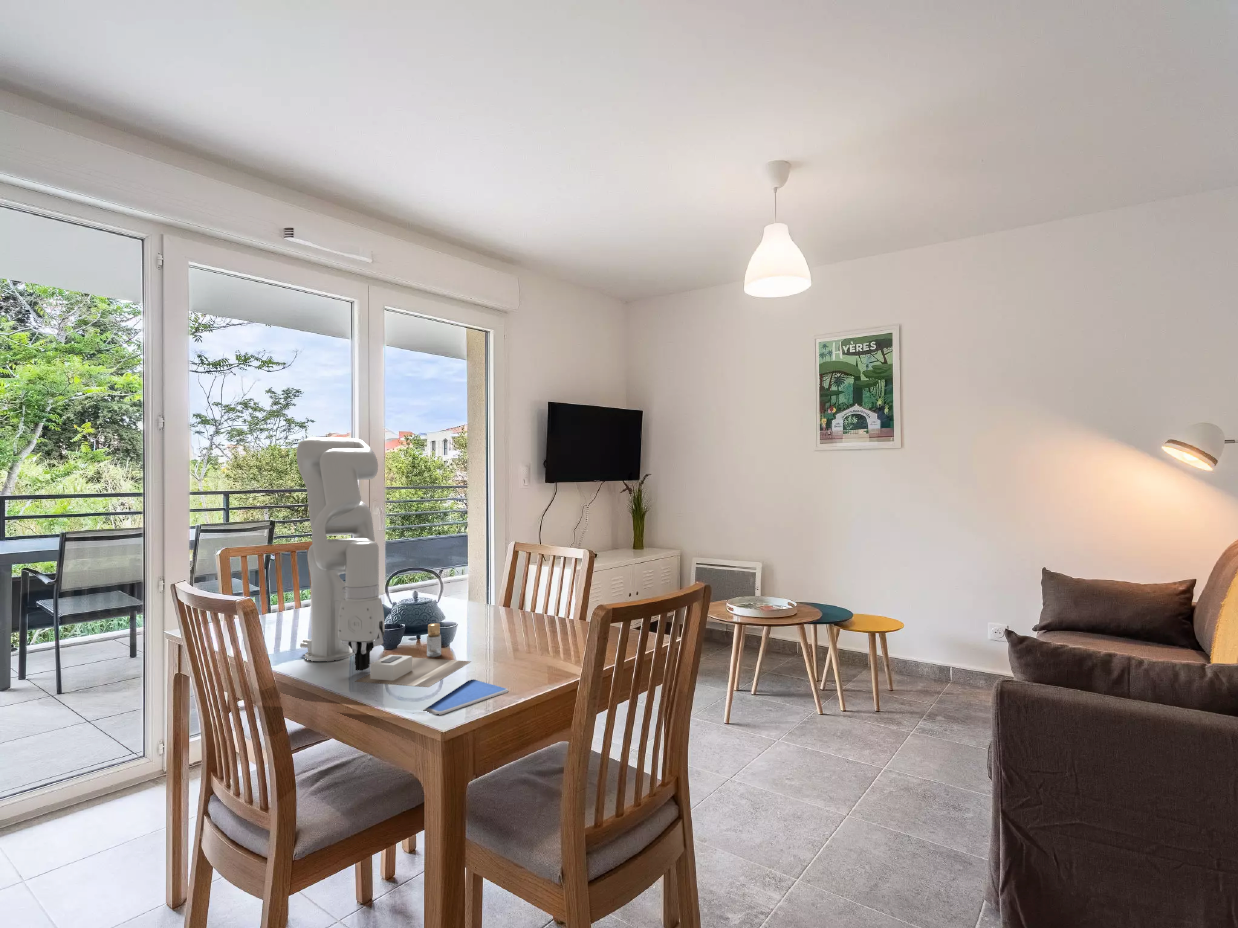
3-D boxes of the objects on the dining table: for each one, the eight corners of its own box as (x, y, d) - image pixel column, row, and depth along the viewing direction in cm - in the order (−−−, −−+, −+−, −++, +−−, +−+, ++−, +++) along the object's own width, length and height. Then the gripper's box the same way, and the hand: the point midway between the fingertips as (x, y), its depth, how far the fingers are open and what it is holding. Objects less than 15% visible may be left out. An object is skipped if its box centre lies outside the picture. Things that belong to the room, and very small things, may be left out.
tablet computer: (473, 683, 157) (473, 677, 157) (510, 693, 149) (510, 687, 149) (402, 706, 142) (402, 699, 142) (439, 718, 134) (439, 712, 134)
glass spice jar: (424, 662, 173) (424, 625, 174) (431, 658, 177) (431, 622, 177) (436, 662, 172) (436, 626, 173) (443, 659, 176) (443, 623, 176)
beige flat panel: (354, 687, 152) (354, 681, 152) (404, 662, 173) (404, 656, 173) (428, 693, 148) (428, 686, 148) (471, 667, 168) (471, 661, 168)
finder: (370, 678, 154) (370, 662, 154) (390, 668, 162) (390, 653, 162) (393, 680, 153) (393, 664, 153) (412, 670, 161) (412, 655, 161)
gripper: (325, 594, 158) (325, 671, 157) (380, 596, 154) (380, 675, 154) (345, 589, 165) (345, 662, 165) (398, 590, 162) (398, 666, 161)
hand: (362, 668), depth 159 cm, fingers closed
